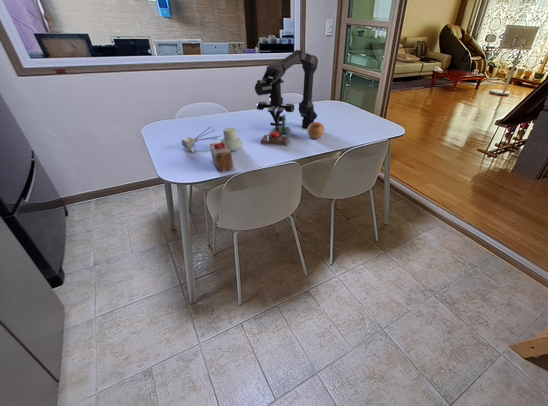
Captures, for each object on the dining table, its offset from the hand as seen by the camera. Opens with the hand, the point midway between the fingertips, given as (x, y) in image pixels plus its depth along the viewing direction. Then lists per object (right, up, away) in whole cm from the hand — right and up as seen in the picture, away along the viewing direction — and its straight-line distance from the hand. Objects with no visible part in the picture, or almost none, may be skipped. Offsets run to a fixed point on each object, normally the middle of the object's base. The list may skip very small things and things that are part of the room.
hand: (276, 123), depth 153 cm
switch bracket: (0, -1, +13) cm, 13 cm away
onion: (+21, -6, +7) cm, 23 cm away
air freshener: (-20, -16, -12) cm, 28 cm away
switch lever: (0, +1, +5) cm, 6 cm away
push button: (0, -8, -3) cm, 8 cm away
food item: (-19, -26, -26) cm, 41 cm away
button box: (0, -11, -2) cm, 11 cm away
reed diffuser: (-35, -13, -9) cm, 39 cm away
